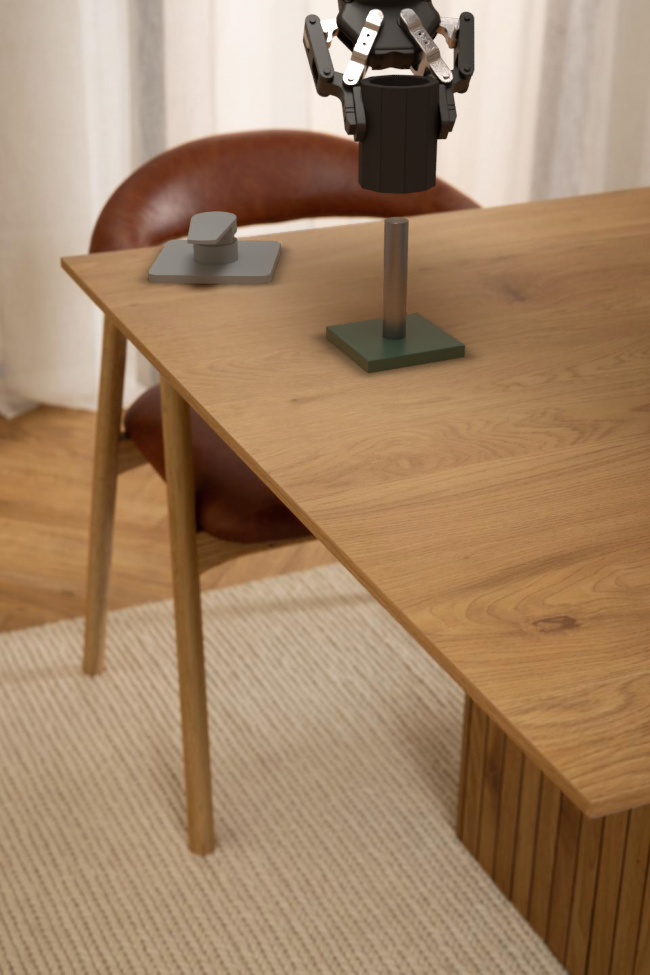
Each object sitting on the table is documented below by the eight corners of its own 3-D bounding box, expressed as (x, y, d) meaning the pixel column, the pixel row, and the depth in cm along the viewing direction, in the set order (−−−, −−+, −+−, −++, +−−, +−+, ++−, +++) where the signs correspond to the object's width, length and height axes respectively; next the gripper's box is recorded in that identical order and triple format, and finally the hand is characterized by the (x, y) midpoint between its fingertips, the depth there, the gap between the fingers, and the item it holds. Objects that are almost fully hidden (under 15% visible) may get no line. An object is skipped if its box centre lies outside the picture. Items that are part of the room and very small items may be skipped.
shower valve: (137, 237, 114) (165, 198, 127) (141, 292, 116) (169, 248, 129) (265, 238, 113) (280, 199, 126) (267, 293, 115) (282, 249, 129)
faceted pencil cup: (425, 174, 99) (428, 73, 95) (441, 192, 93) (446, 86, 89) (353, 176, 98) (354, 75, 94) (366, 195, 92) (367, 88, 89)
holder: (416, 324, 107) (420, 201, 102) (464, 358, 100) (471, 227, 95) (325, 339, 104) (324, 213, 99) (368, 374, 97) (369, 240, 92)
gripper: (294, -77, 92) (315, 109, 87) (473, -79, 94) (504, 103, 89) (287, -10, 99) (307, 165, 95) (455, -13, 101) (482, 159, 96)
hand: (402, 134), depth 92 cm, fingers closed on faceted pencil cup, 6 cm apart
